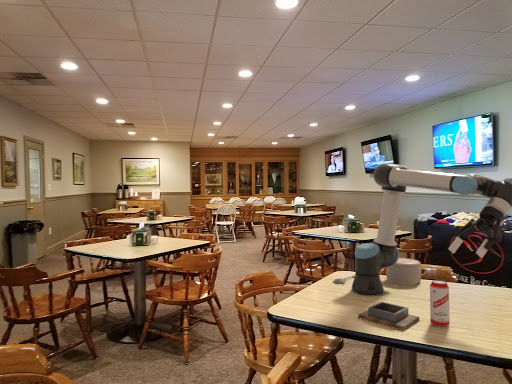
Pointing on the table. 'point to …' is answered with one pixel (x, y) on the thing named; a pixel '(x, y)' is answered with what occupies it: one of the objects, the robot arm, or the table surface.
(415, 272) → the container
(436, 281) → the beer can
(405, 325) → the keeper board
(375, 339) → the table surface
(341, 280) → the soupspoon
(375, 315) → the grey shallow square box
